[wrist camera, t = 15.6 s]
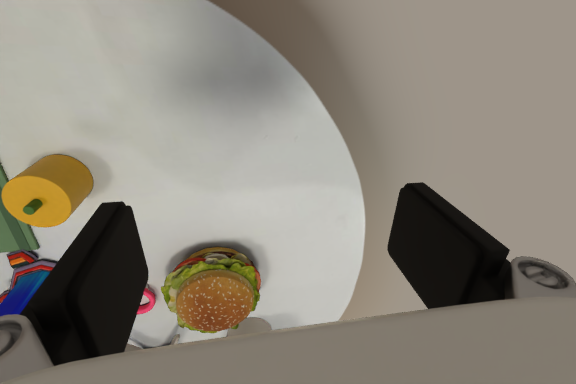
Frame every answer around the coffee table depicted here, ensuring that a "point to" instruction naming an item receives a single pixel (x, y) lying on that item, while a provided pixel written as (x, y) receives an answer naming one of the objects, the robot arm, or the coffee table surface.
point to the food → (212, 290)
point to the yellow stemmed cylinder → (47, 191)
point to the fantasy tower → (23, 281)
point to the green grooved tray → (13, 227)
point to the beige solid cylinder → (250, 327)
